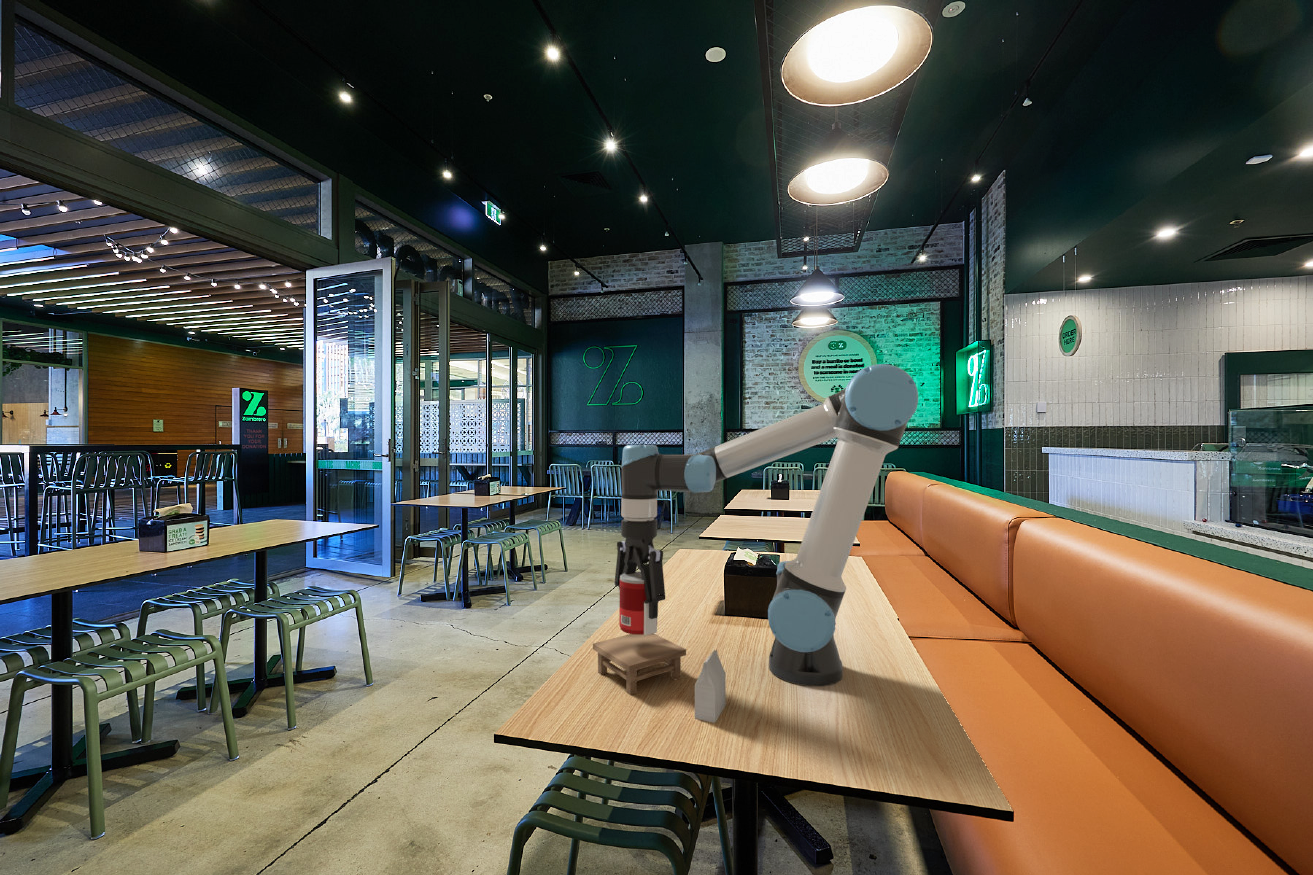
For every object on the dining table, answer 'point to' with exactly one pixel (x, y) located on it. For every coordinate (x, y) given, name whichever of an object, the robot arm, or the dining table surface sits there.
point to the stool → (638, 657)
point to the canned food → (632, 603)
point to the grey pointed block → (710, 690)
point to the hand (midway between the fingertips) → (638, 627)
